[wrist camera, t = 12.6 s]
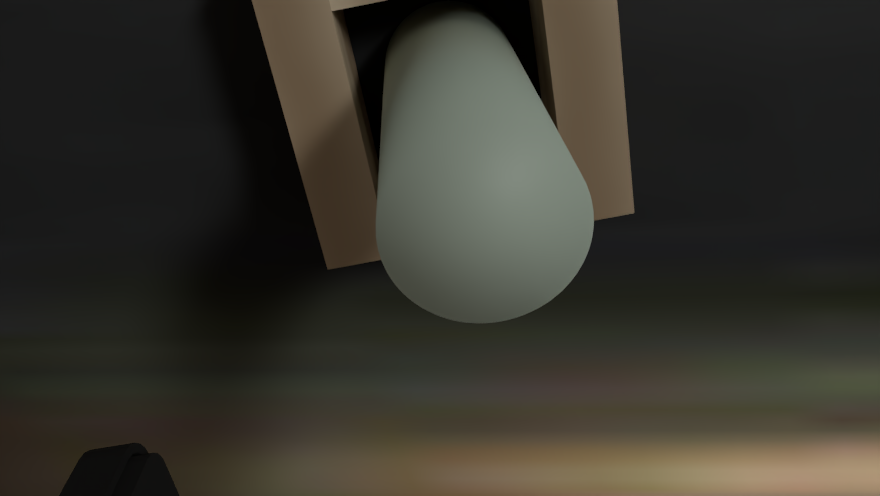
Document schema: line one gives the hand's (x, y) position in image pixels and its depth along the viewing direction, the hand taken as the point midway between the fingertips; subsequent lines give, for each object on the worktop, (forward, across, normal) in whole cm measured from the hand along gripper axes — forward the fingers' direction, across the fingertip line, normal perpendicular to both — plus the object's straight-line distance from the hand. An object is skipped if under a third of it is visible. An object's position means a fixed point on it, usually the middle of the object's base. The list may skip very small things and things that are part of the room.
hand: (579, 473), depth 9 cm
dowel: (+18, +1, 0) cm, 18 cm away
